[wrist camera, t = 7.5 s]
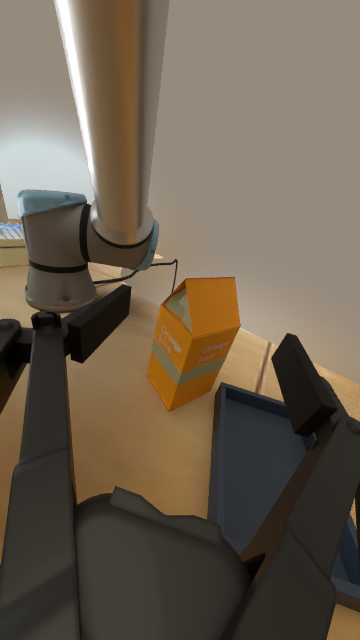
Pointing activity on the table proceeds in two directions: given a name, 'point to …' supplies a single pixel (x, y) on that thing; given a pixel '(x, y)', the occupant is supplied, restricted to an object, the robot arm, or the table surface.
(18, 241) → the pale yellow long box
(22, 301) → the table surface
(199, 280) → the orange juice
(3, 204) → the stool
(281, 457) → the tray
